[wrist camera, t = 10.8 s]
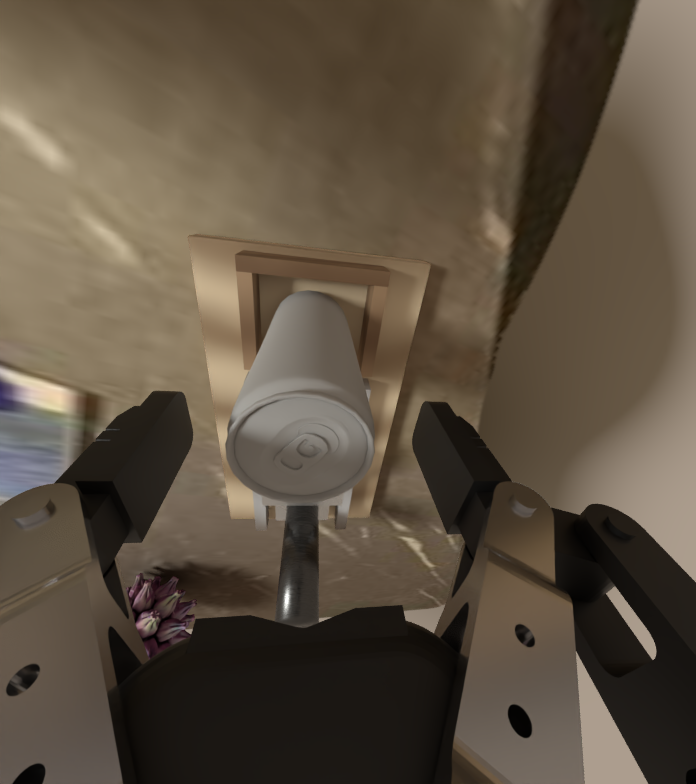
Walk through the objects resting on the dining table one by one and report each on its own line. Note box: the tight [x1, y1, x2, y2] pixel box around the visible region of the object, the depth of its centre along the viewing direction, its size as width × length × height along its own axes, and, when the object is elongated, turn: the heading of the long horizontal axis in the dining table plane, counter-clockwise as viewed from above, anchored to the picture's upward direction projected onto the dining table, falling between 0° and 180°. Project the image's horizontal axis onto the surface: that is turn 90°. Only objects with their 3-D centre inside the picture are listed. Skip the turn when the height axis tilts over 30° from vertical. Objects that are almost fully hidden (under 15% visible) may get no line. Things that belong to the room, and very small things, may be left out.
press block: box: [262, 493, 344, 628], centre depth 22 cm, size 10×6×10 cm, turn 173°
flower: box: [126, 573, 197, 659], centre depth 31 cm, size 12×12×12 cm
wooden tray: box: [188, 234, 431, 530], centre depth 23 cm, size 25×14×4 cm, turn 173°
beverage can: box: [225, 290, 375, 503], centre depth 14 cm, size 5×5×12 cm
